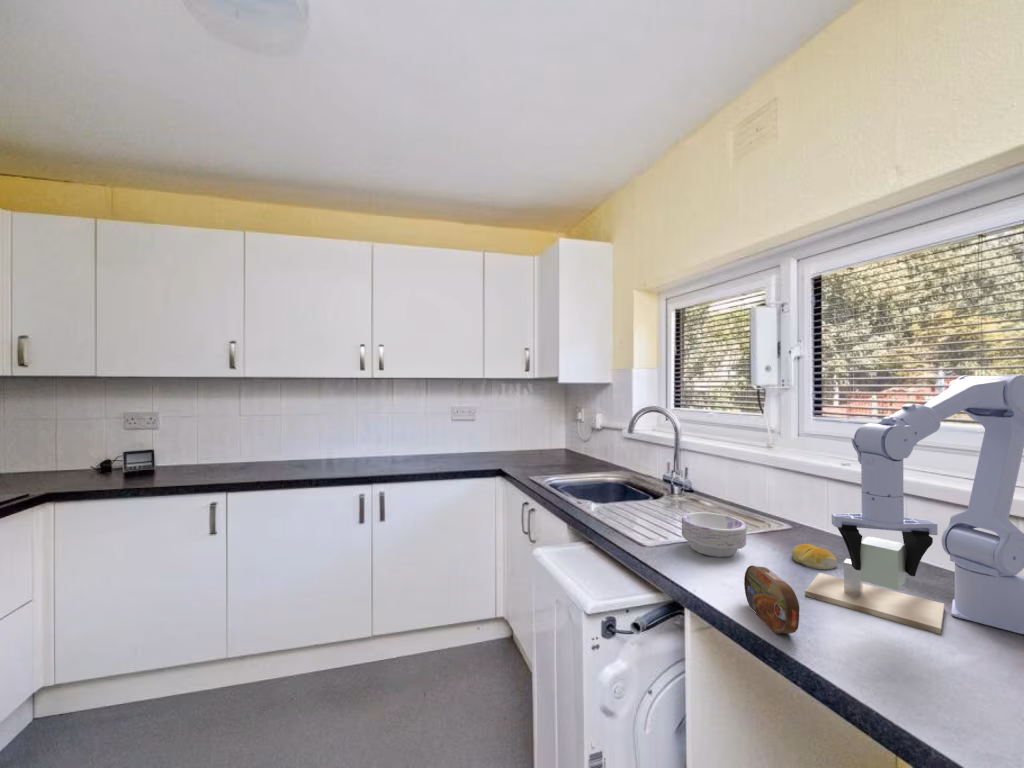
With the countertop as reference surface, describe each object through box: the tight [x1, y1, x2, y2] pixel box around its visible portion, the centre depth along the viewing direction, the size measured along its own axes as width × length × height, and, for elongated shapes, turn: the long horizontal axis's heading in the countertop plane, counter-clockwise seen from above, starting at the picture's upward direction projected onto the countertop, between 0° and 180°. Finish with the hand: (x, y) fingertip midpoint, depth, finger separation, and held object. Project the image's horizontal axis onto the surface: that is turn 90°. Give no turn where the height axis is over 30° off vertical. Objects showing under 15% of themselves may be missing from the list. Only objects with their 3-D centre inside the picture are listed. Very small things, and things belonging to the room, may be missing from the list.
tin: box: [743, 565, 800, 635], centre depth 83 cm, size 15×3×8 cm, turn 177°
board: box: [804, 572, 945, 635], centre depth 89 cm, size 20×12×1 cm, turn 44°
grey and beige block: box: [843, 558, 864, 596], centre depth 91 cm, size 3×3×6 cm
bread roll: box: [791, 543, 838, 570], centre depth 109 cm, size 8×9×4 cm
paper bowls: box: [681, 511, 748, 558], centre depth 117 cm, size 15×15×8 cm
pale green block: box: [860, 535, 906, 591], centre depth 80 cm, size 5×5×7 cm
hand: (882, 570), depth 80 cm, fingers closed on pale green block, 7 cm apart
